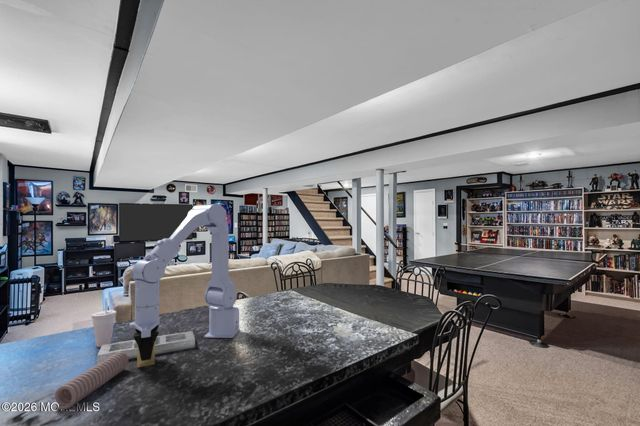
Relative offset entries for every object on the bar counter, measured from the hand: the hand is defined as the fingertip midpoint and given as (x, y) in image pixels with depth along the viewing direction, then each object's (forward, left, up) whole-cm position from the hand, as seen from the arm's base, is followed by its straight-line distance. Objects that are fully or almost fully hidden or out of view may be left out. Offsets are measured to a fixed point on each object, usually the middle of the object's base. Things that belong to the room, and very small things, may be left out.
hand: (146, 356), depth 82 cm
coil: (+4, +12, -2) cm, 13 cm away
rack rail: (+4, -8, -2) cm, 9 cm away
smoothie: (+21, -12, -2) cm, 24 cm away
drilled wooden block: (0, 0, -2) cm, 2 cm away
